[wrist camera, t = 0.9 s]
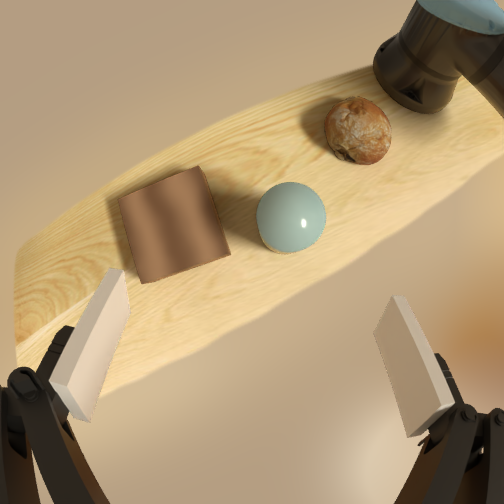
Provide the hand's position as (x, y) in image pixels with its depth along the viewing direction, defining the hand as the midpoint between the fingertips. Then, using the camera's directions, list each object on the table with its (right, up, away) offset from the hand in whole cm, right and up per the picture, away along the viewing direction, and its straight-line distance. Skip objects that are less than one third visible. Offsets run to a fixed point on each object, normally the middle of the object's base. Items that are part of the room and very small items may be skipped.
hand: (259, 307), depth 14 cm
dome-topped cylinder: (+4, +6, +27) cm, 28 cm away
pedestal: (-11, +6, +28) cm, 30 cm away
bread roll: (+15, +20, +27) cm, 37 cm away
